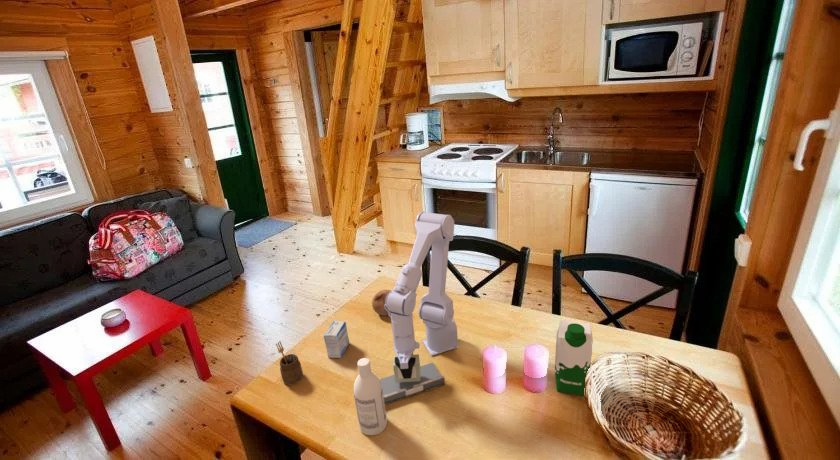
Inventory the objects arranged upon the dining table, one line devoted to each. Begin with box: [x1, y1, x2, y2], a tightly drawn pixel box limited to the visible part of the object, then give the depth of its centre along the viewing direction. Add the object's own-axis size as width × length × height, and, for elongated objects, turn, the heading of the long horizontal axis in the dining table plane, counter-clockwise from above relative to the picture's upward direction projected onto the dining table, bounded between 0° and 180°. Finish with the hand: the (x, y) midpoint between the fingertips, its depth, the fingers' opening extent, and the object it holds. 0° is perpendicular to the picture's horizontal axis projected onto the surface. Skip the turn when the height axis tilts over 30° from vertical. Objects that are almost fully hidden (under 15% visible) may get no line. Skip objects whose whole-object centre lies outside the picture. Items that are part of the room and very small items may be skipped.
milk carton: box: [554, 319, 594, 397], centre depth 106 cm, size 9×9×20 cm
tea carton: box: [392, 354, 421, 383], centre depth 113 cm, size 4×7×6 cm, turn 90°
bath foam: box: [352, 357, 388, 436], centre depth 99 cm, size 7×7×20 cm
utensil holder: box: [275, 341, 304, 386], centre depth 118 cm, size 6×6×12 cm
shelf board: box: [379, 362, 446, 406], centre depth 114 cm, size 20×9×2 cm, turn 110°
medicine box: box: [323, 320, 350, 359], centre depth 130 cm, size 8×4×9 cm, turn 168°
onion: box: [371, 289, 392, 317], centre depth 148 cm, size 10×9×10 cm
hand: (407, 371), depth 114 cm, fingers closed on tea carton, 4 cm apart
